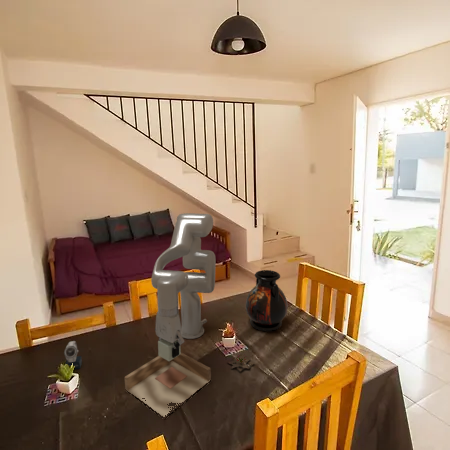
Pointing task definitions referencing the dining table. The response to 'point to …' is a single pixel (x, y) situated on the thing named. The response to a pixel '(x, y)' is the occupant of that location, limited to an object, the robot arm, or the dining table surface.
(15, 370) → the dining table surface
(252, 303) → the amphora vase
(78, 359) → the watch
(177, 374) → the tray
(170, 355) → the cube
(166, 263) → the robot arm
